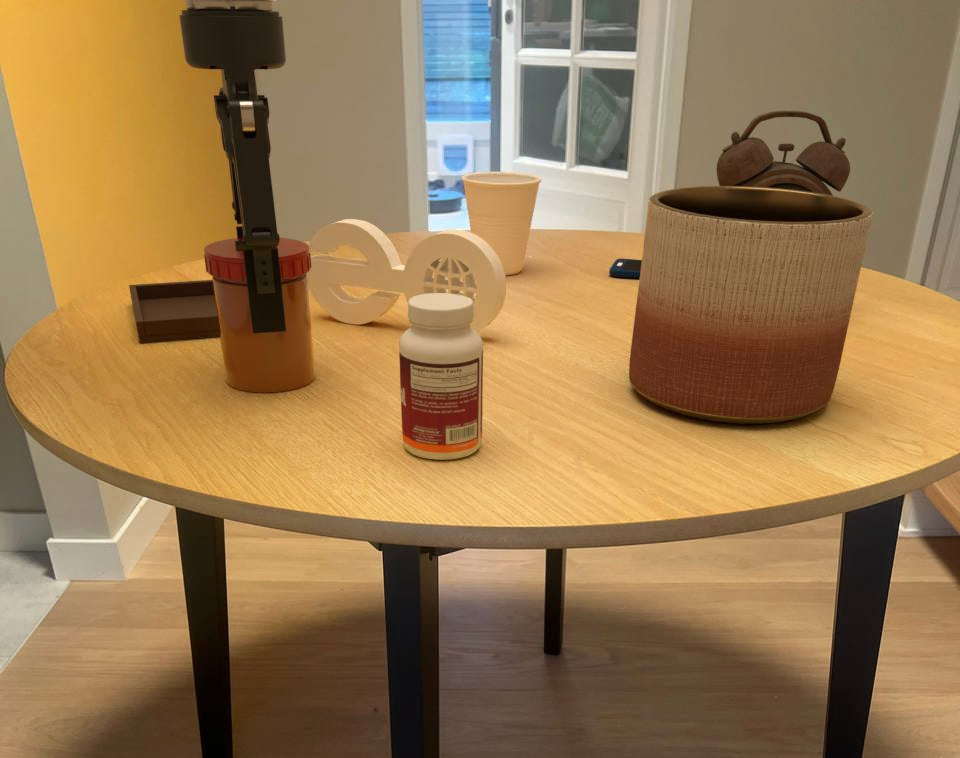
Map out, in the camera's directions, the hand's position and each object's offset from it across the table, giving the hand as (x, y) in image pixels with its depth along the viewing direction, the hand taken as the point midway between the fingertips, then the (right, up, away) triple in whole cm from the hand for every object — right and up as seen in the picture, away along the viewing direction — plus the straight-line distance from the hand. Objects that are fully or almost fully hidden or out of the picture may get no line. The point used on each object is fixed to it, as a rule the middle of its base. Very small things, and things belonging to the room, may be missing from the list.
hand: (264, 316), depth 83 cm
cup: (+21, +19, +40) cm, 49 cm away
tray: (-11, +6, +19) cm, 23 cm away
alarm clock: (+51, +9, +26) cm, 58 cm away
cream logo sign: (+11, +4, +17) cm, 21 cm away
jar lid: (0, +4, -3) cm, 5 cm away
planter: (+41, -7, +2) cm, 42 cm away
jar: (0, -5, +3) cm, 5 cm away
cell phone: (+43, +19, +39) cm, 61 cm away
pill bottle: (+16, -14, -9) cm, 23 cm away
